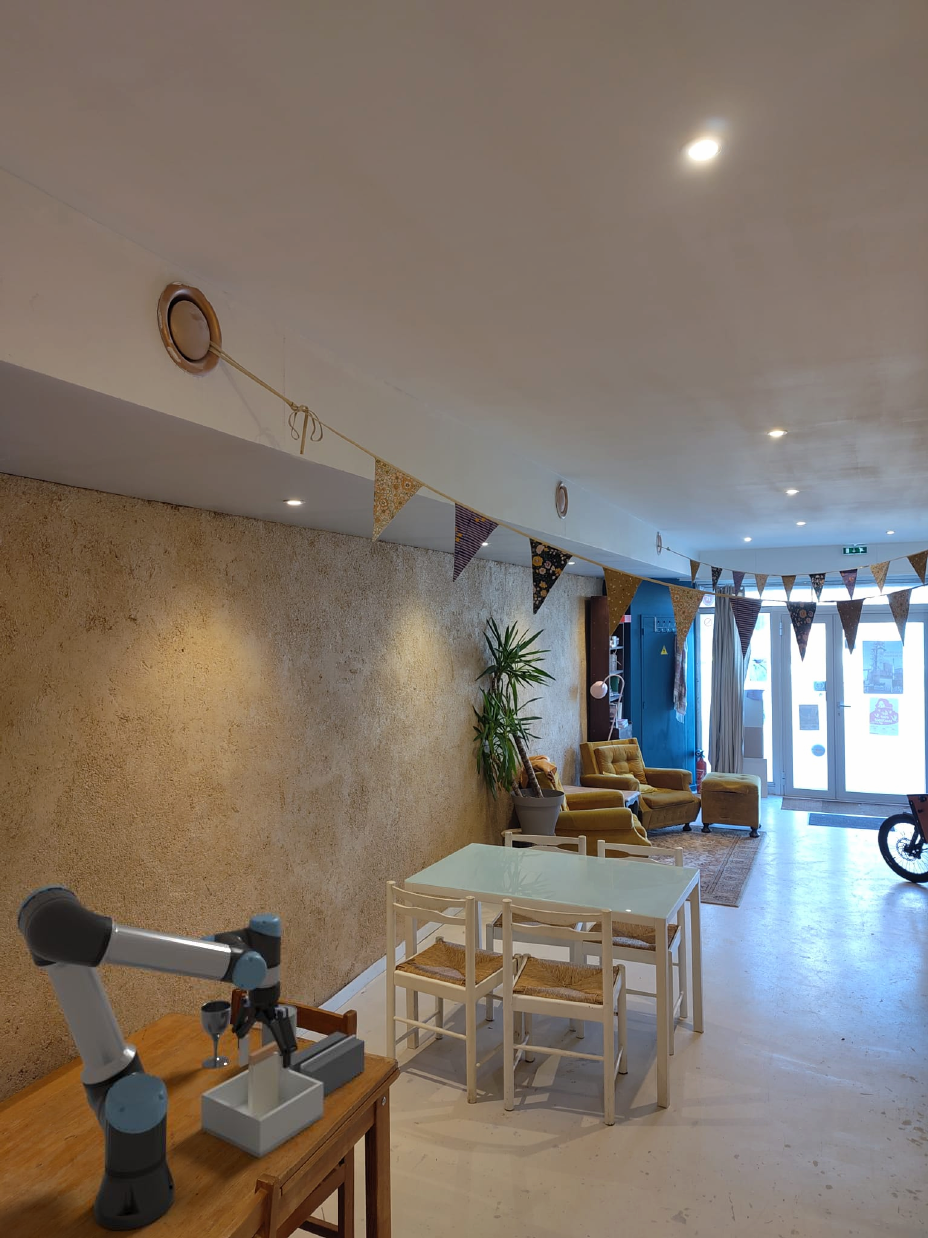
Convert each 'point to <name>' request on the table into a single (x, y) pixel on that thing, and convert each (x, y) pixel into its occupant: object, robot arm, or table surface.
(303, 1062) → the dispenser
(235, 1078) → the bin
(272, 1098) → the cream flat board
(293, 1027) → the grey cylinder
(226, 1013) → the wine glass
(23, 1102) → the table surface
